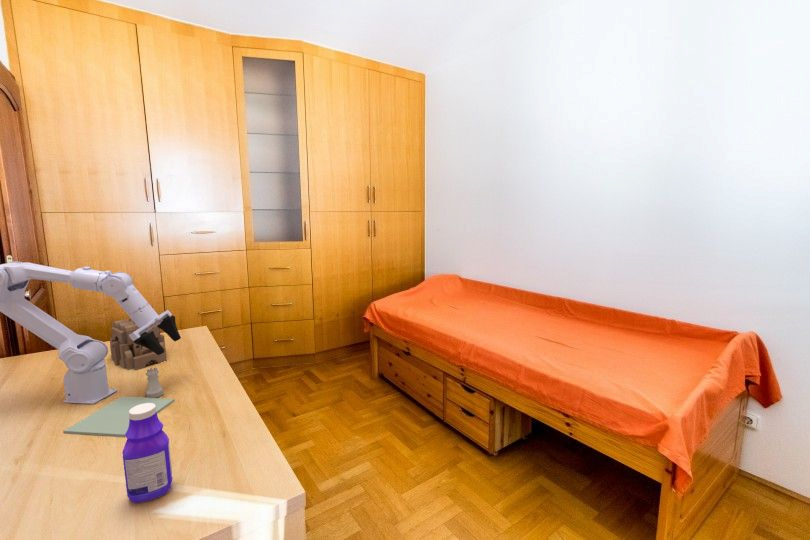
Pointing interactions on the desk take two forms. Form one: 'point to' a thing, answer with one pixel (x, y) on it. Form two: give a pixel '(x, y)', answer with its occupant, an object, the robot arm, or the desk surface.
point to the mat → (114, 417)
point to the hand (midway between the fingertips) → (170, 346)
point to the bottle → (146, 455)
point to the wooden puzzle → (133, 346)
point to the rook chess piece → (153, 384)
